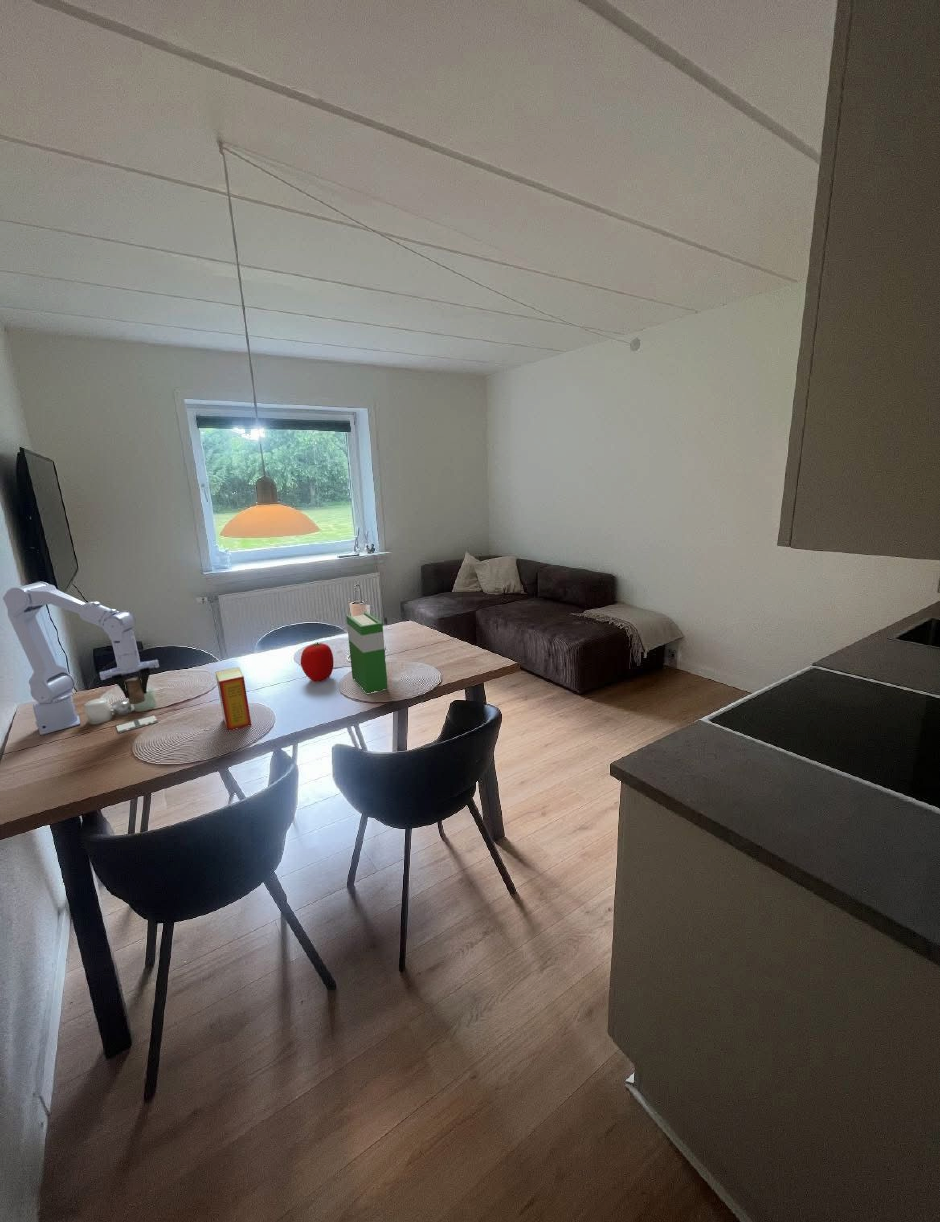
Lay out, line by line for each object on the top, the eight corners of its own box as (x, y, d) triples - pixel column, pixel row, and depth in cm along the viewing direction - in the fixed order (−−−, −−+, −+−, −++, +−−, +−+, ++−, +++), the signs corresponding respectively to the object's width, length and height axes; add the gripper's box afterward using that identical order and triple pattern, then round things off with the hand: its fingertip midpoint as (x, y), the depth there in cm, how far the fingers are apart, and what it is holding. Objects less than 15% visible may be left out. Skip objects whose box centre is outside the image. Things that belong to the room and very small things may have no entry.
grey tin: (115, 717, 154) (112, 707, 153) (113, 712, 158) (111, 702, 157) (133, 712, 157) (131, 702, 156) (131, 708, 161) (128, 698, 160)
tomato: (329, 685, 173) (325, 648, 170) (298, 686, 173) (293, 648, 170) (339, 672, 185) (336, 637, 182) (310, 673, 186) (305, 637, 182)
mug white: (89, 726, 149) (85, 708, 147) (87, 718, 154) (83, 700, 153) (113, 719, 152) (109, 702, 151) (110, 712, 158) (106, 695, 156)
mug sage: (136, 713, 156) (132, 696, 155) (132, 706, 162) (128, 689, 160) (157, 707, 160) (154, 690, 159) (153, 700, 166) (150, 684, 164)
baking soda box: (223, 719, 150) (215, 670, 146) (246, 713, 154) (238, 665, 150) (227, 731, 143) (218, 680, 139) (251, 725, 146) (243, 675, 142)
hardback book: (352, 677, 180) (346, 615, 174) (371, 673, 183) (366, 612, 177) (367, 694, 165) (360, 626, 159) (387, 689, 168) (382, 623, 162)
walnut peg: (130, 705, 146) (125, 683, 144) (128, 701, 149) (123, 680, 147) (146, 701, 148) (141, 679, 147) (143, 697, 151) (139, 676, 149)
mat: (118, 733, 143) (118, 732, 143) (115, 725, 148) (115, 724, 148) (158, 722, 150) (157, 721, 150) (153, 714, 155) (153, 714, 155)
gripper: (97, 662, 137) (108, 706, 140) (157, 649, 146) (165, 691, 150) (95, 656, 142) (105, 699, 146) (152, 644, 151) (161, 685, 155)
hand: (135, 694), depth 148 cm, fingers closed on walnut peg, 4 cm apart
